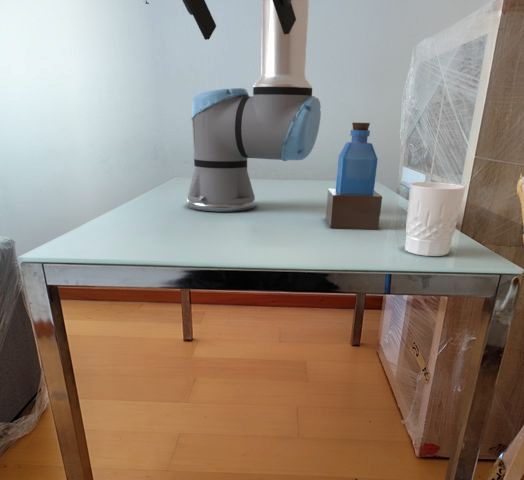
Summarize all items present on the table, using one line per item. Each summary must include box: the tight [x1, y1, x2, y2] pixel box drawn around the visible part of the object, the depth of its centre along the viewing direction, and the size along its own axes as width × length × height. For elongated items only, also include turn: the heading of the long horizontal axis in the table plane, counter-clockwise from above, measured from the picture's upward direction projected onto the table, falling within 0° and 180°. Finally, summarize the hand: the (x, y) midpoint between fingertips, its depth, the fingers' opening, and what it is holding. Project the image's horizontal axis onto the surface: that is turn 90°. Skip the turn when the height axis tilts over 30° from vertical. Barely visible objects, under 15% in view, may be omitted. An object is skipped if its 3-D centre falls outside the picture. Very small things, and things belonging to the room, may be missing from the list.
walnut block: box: [325, 188, 383, 230], centre depth 92 cm, size 9×9×6 cm
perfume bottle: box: [335, 122, 379, 195], centre depth 88 cm, size 6×6×12 cm
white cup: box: [404, 181, 466, 257], centre depth 73 cm, size 8×8×10 cm
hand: (248, 30), depth 68 cm, fingers open, 13 cm apart
